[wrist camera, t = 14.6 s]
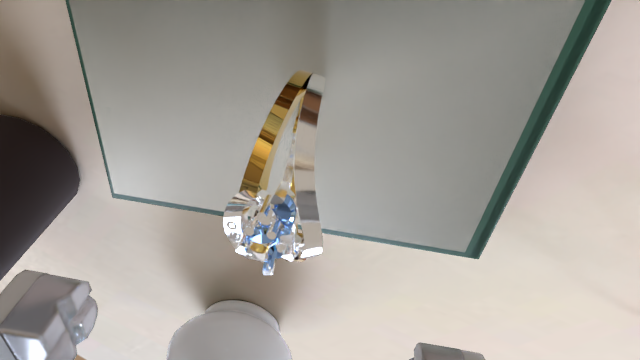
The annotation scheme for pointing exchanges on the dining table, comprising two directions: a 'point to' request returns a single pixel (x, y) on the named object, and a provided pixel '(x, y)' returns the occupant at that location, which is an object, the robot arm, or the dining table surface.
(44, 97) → the dining table surface
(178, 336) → the flower vase
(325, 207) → the book
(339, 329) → the dining table surface
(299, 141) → the ring
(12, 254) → the vinegar
